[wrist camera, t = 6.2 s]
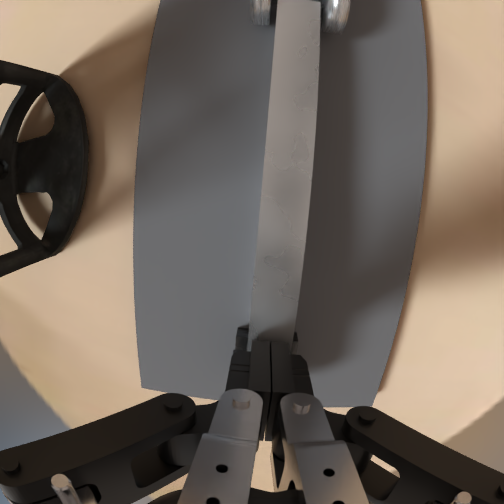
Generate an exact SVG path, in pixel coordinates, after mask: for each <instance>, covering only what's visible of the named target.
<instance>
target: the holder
mask: <svg viewBox="0 0 504 504" xmlns="http://www.w3.org/2000/svg"><path fill="white" fill-rule="evenodd" d="M3 83H7V84H13V85H18V86H21V88H20V90H19V92H18V94H17V95H16V97H15V98H14V100H13V101H12V103H11V105H10V107H9V108H8V110H7V112H6V114H5V116H4V119H3V121H2V123H1V126H0V215H1V218H2V220H3V223H4V225H5V227H6V228H7V230H8V232H9V234H10V235H11V237H12V238H13V240H14V241H15V243H16V244H17V246H18V250H15V251H12V252H9V253H6V254H4V255H1V256H0V277H2V276H4V275H7V274H9V273H11V272H14V271H16V270H19V269H21V268H23V267H26V266H28V265H31V264H33V263H36V262H39V261H41V260H44V259H46V258H49V257H52V256H56V255H57V254H58V253H59V252H60V251H61V250H62V249H63V248H64V247H65V245H66V244H67V242H68V240H69V238H70V236H71V234H72V231H73V229H74V227H75V225H76V222H77V220H78V217H79V214H80V211H81V208H82V203H83V198H84V193H85V187H86V181H87V171H88V135H87V129H86V122H85V116H84V112H83V110H82V107H81V104H80V102H79V99H78V96H77V95H76V93H75V92H74V90H73V89H72V87H71V86H70V84H68V83H67V82H66V81H64V80H63V79H62V78H61V77H59V76H58V75H55V74H51V73H47V72H44V71H40V70H36V69H33V68H29V67H26V66H22V65H18V64H14V63H10V62H6V61H2V60H0V85H1V84H3ZM42 92H44V93H45V95H46V97H47V99H48V102H49V104H50V106H51V109H52V111H53V113H54V116H55V120H54V126H53V128H52V130H51V131H50V132H49V133H48V134H47V135H44V136H41V137H38V138H34V139H31V140H28V141H25V142H22V143H18V142H17V138H18V134H19V130H20V127H21V125H22V122H23V120H24V118H25V116H26V114H27V112H28V110H29V108H30V107H31V105H32V104H33V102H34V101H35V100H36V98H37V97H38V96H39V95H40V94H41V93H42ZM28 192H32V193H33V192H42V193H44V192H47V193H48V194H49V195H50V197H51V199H52V201H53V210H52V213H51V216H50V219H49V222H48V224H47V227H46V230H45V232H44V235H43V237H42V240H40V239H39V238H38V237H37V236H36V235H35V234H34V233H33V232H32V231H31V229H30V228H29V227H28V225H27V223H26V221H25V220H24V217H23V215H22V213H21V210H20V208H19V205H18V201H17V194H20V193H28Z"/></svg>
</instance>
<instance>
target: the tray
mask: <svg viewBox="0 0 504 504" xmlns="http://www.w3.org/2000/svg"><path fill="white" fill-rule="evenodd" d="M320 12H321V10H320ZM276 16H277V5H271V16H270V24H269V25H256V24H251V23H250V0H160V5H159V9H158V14H157V18H156V23H155V28H154V33H153V38H152V43H151V48H150V54H149V60H148V66H147V72H146V79H145V86H144V93H143V100H142V108H141V117H140V126H139V136H138V147H137V160H136V175H135V194H134V227H133V267H134V300H135V319H136V334H137V347H138V358H139V368H140V377H141V386H142V388H146V389H151V390H156V391H161V392H167V393H179V394H183V395H186V396H191V397H198V398H205V399H213V400H219V399H220V397H221V395H222V394H223V393H224V392H225V389H226V383H227V378H228V373H229V367H230V362H231V357H232V355H233V350H235V343H236V334H237V328H238V327H239V328H249V323H250V313H251V302H252V291H253V280H254V269H255V258H256V247H257V236H258V224H259V213H260V202H261V191H262V179H263V168H264V157H265V145H266V134H267V122H268V110H269V99H270V87H271V75H272V63H273V52H274V40H275V28H276ZM427 113H428V89H427V60H426V45H425V33H424V23H423V14H422V6H421V0H351V2H350V10H349V15H348V19H347V23H346V26H345V29H344V31H343V32H342V34H335V33H329V32H323V31H322V30H321V25H320V54H319V79H318V100H317V117H316V132H315V147H314V160H313V172H312V184H311V195H310V205H309V215H308V225H307V234H306V244H305V252H304V261H303V269H302V278H301V285H300V293H299V301H298V308H297V316H296V323H295V330H294V332H297V336H298V348H297V353H296V355H301V356H302V357H303V358H304V359H305V361H306V362H307V365H308V371H309V374H310V379H311V384H312V388H313V393H314V397H316V398H317V399H319V400H320V402H321V403H322V406H323V407H357V406H372V405H373V402H374V399H375V397H376V394H377V391H378V388H379V385H380V382H381V379H382V376H383V373H384V370H385V367H386V364H387V361H388V357H389V354H390V351H391V347H392V344H393V340H394V337H395V333H396V330H397V326H398V322H399V318H400V314H401V310H402V306H403V302H404V298H405V293H406V289H407V284H408V280H409V275H410V270H411V265H412V259H413V254H414V248H415V243H416V236H417V230H418V223H419V216H420V209H421V201H422V192H423V183H424V172H425V159H426V143H427Z"/></svg>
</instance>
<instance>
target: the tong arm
mask: <svg viewBox="0 0 504 504" xmlns="http://www.w3.org/2000/svg"><path fill="white" fill-rule="evenodd" d="M320 8H321V2H318V1H311V0H278V3H277V16H276V28H275V40H274V52H273V63H272V75H271V87H270V99H269V110H268V122H267V134H266V145H265V157H264V168H263V179H262V191H261V202H260V213H259V224H258V236H257V247H256V258H255V269H254V280H253V291H252V302H251V313H250V323H249V334H248V345H247V351H251V344H252V340H260V341H269V342H271V341H272V342H286V343H289V350H290V354H291V350H292V343H293V337H294V330H295V323H296V316H297V308H298V301H299V293H300V285H301V278H302V269H303V261H304V252H305V244H306V234H307V225H308V215H309V205H310V195H311V184H312V172H313V160H314V147H315V132H316V117H317V100H318V79H319V54H320ZM237 351H238V350H233V354H234V353H235V352H237ZM241 351H244V350H241ZM292 355H294V354H292Z"/></svg>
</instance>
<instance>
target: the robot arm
mask: <svg viewBox="0 0 504 504" xmlns="http://www.w3.org/2000/svg"><path fill="white" fill-rule="evenodd" d="M264 432H265V441H272V450H271V455H270V461H271V469H272V478H273V486H274V492H267V491H263V490H259V489H255V488H251V487H250V486H251V480H252V473H253V467H254V461H255V454H256V452H257V451H258V447H259V440H260V441H263V438H264ZM372 455H375V456H376V457H378V458H379V459H381V460H383V461H384V462H386V463H387V464H389V465H391V466H392V467H394V468H396V469H397V470H398V472H399V474H400V478H399V477H397V476H395V475H393V474H392V473H390V472H389V471H387V470H385V469H384V468H382V467H381V466H379V465H377V464H376V463H374V462H373V461H371V460H370V459H371V457H372ZM187 473H188V476H187V479H186V481H185V484H184V487H183V489H182V490H177V491H173V492H170V493H167V494H165V495H163V496H160V497H158V498H157V499H155V500H153V501H151V502H150V503H148V504H504V474H503V473H501V472H499V471H497V470H494V469H492V468H490V467H487V466H486V465H483V464H481V463H479V462H477V461H475V460H473V459H471V458H469V457H467V456H464V455H462V454H460V453H458V452H456V451H454V450H452V449H450V448H448V447H446V446H444V445H442V444H440V443H439V442H437V441H435V440H433V439H431V438H429V437H427V436H425V435H423V434H421V433H419V432H418V431H416V430H414V429H412V428H410V427H408V426H406V425H405V424H403V423H401V422H399V421H397V420H395V419H394V418H392V417H390V416H388V415H387V414H385V413H383V412H381V411H379V410H378V409H376V408H373V407H369V406H357V407H354V408H352V409H350V410H349V411H348V412H347V414H346V415H342V414H337V413H332V412H329V411H327V410H325V409H323V406H322V403H321V402H320V400H319V399H317V398H316V397H314V393H313V388H312V384H311V379H310V374H309V371H308V365H307V362H306V361H305V359H304V358H303V357H302V356H301V355H292V354H290V350H289V343H286V342H272V341H271V342H269V341H260V340H252V344H251V351H241V350H238V351H237V352H235V353H234V354H233V355H232V357H231V362H230V367H229V373H228V378H227V383H226V389H225V392H224V393H223V394H222V395H221V397H220V399H219V401H217V402H215V403H212V404H207V405H195V403H194V401H193V400H192V399H191V398H189V397H188V396H186V395H183V394H179V393H166V394H162V395H160V396H157V397H155V398H153V399H150V400H148V401H145V402H143V403H140V404H138V405H136V406H133V407H131V408H128V409H125V410H123V411H120V412H118V413H115V414H113V415H110V416H107V417H105V418H102V419H99V420H97V421H94V422H91V423H88V424H85V425H83V426H80V427H77V428H74V429H71V430H68V431H65V432H62V433H59V434H56V435H53V436H50V437H47V438H43V439H40V440H37V441H34V442H30V443H27V444H23V445H20V446H16V447H12V448H9V449H6V450H2V451H0V488H1V489H2V491H3V494H4V495H5V497H6V498H7V499H8V501H9V502H10V503H11V504H131V503H133V502H136V501H137V500H140V499H141V498H143V497H145V496H147V495H149V494H151V493H153V492H155V491H157V490H159V489H161V488H162V487H164V486H166V485H168V484H170V483H171V482H173V481H175V480H177V479H178V478H180V477H182V476H184V475H185V474H187Z"/></svg>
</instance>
